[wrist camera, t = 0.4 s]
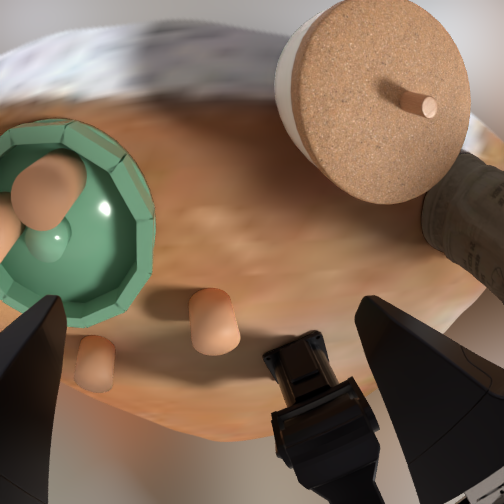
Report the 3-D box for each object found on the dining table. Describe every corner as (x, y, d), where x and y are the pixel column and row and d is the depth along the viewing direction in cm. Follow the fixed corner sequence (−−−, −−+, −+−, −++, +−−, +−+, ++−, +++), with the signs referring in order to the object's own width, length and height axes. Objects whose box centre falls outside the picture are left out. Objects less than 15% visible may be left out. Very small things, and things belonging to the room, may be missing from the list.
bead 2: (96, 186, 17) (79, 212, 13) (55, 211, 17) (33, 241, 13) (70, 137, 15) (45, 153, 11) (29, 166, 15) (0, 188, 11)
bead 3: (122, 353, 26) (120, 387, 23) (95, 363, 26) (91, 395, 23) (100, 330, 24) (94, 365, 21) (72, 341, 24) (65, 375, 21)
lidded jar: (216, 89, 16) (250, 96, 8) (328, -12, 13) (423, -46, 6) (326, 190, 22) (403, 259, 14) (414, 97, 19) (510, 127, 11)
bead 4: (237, 310, 26) (247, 345, 23) (199, 325, 26) (205, 360, 23) (221, 281, 24) (229, 316, 21) (180, 298, 24) (183, 334, 21)
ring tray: (191, 263, 22) (194, 284, 20) (49, 325, 22) (43, 346, 20) (95, 73, 14) (82, 73, 12) (-47, 191, 14) (-65, 205, 12)
